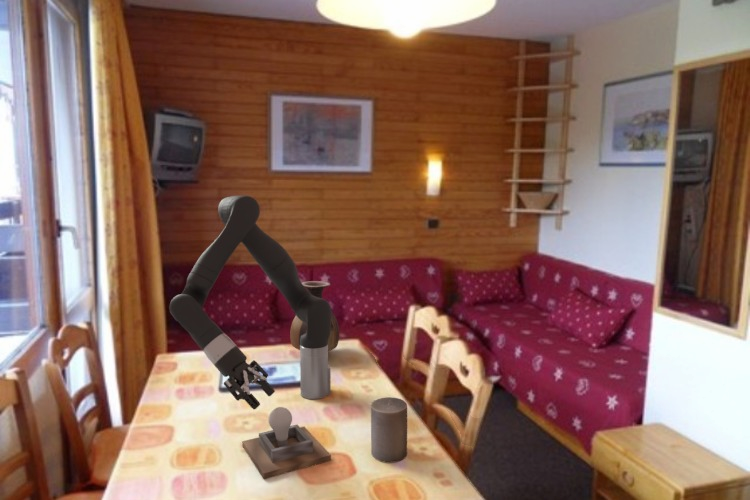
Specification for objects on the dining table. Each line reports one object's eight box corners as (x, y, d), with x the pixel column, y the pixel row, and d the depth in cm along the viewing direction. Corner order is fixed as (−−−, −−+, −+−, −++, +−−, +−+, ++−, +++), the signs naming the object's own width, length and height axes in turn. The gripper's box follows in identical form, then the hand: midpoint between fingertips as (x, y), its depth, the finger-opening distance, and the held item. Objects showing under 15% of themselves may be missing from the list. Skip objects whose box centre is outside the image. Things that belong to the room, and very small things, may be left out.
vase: (315, 369, 204) (315, 291, 200) (277, 359, 215) (276, 285, 210) (351, 353, 223) (351, 281, 219) (314, 344, 234) (314, 276, 230)
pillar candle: (411, 447, 148) (411, 395, 146) (401, 465, 139) (401, 409, 137) (377, 442, 151) (377, 390, 149) (365, 459, 142) (365, 404, 140)
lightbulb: (290, 453, 141) (287, 412, 139) (268, 453, 141) (264, 413, 140) (297, 442, 147) (293, 403, 145) (275, 442, 147) (271, 403, 146)
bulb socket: (304, 431, 156) (304, 416, 156) (330, 460, 141) (330, 444, 140) (242, 446, 148) (242, 430, 147) (263, 479, 132) (263, 461, 132)
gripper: (219, 354, 137) (261, 403, 136) (246, 338, 151) (285, 381, 149) (201, 372, 139) (243, 420, 138) (230, 354, 153) (268, 398, 152)
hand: (265, 400), depth 144 cm, fingers open, 8 cm apart
